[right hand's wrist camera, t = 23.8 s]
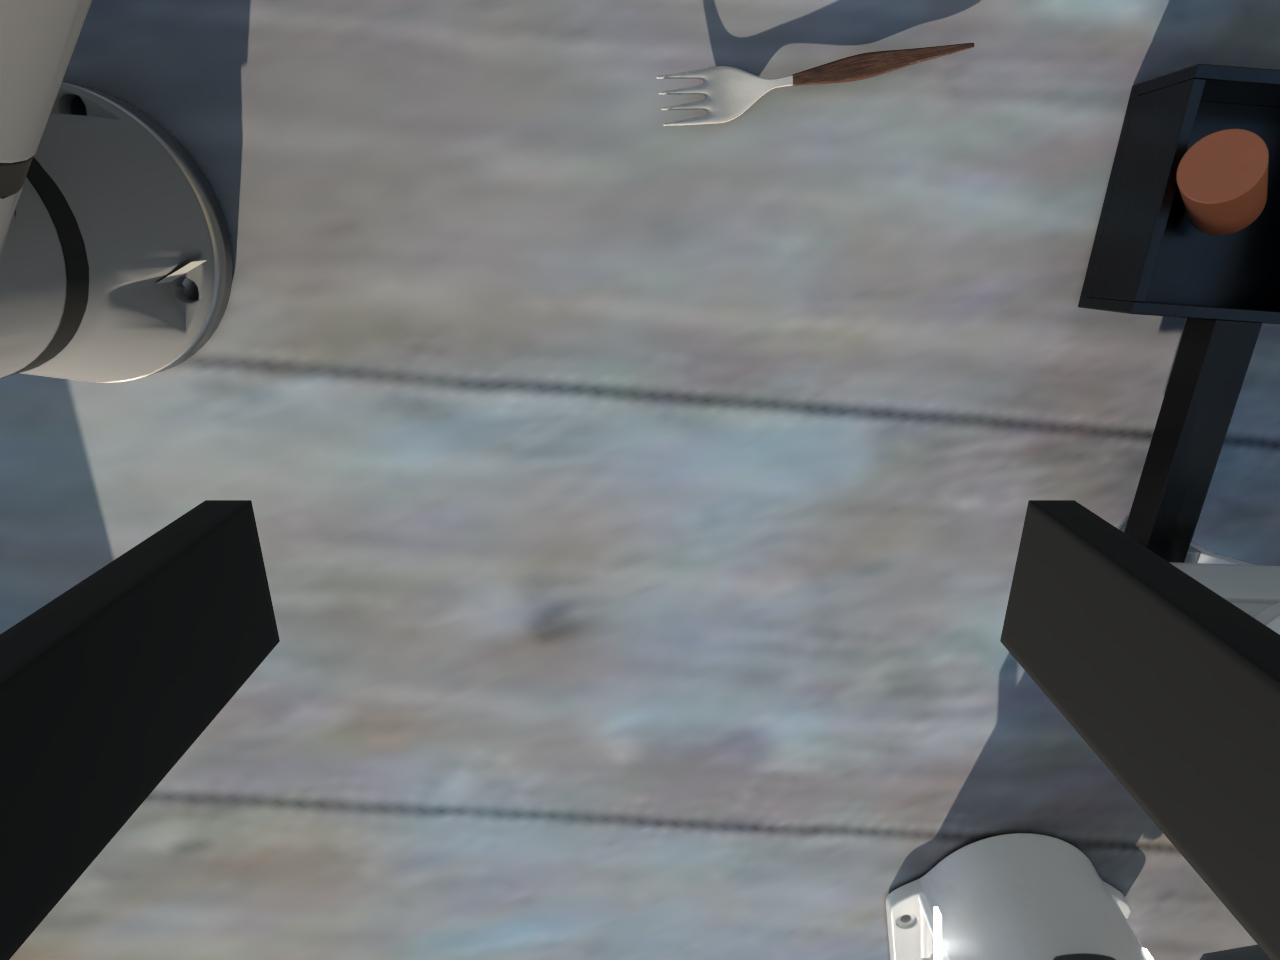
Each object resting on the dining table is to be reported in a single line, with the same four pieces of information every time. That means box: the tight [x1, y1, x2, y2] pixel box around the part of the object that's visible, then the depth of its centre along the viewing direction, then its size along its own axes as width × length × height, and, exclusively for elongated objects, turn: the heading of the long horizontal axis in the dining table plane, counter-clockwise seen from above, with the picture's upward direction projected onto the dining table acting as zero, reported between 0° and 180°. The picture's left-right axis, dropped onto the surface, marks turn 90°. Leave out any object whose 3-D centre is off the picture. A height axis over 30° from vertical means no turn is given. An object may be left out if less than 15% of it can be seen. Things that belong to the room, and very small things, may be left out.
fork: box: [656, 43, 974, 126], centre depth 36 cm, size 3×16×2 cm, turn 100°
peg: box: [1176, 129, 1269, 236], centre depth 35 cm, size 3×3×7 cm
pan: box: [1078, 64, 1280, 563], centre depth 39 cm, size 29×11×5 cm, turn 176°
